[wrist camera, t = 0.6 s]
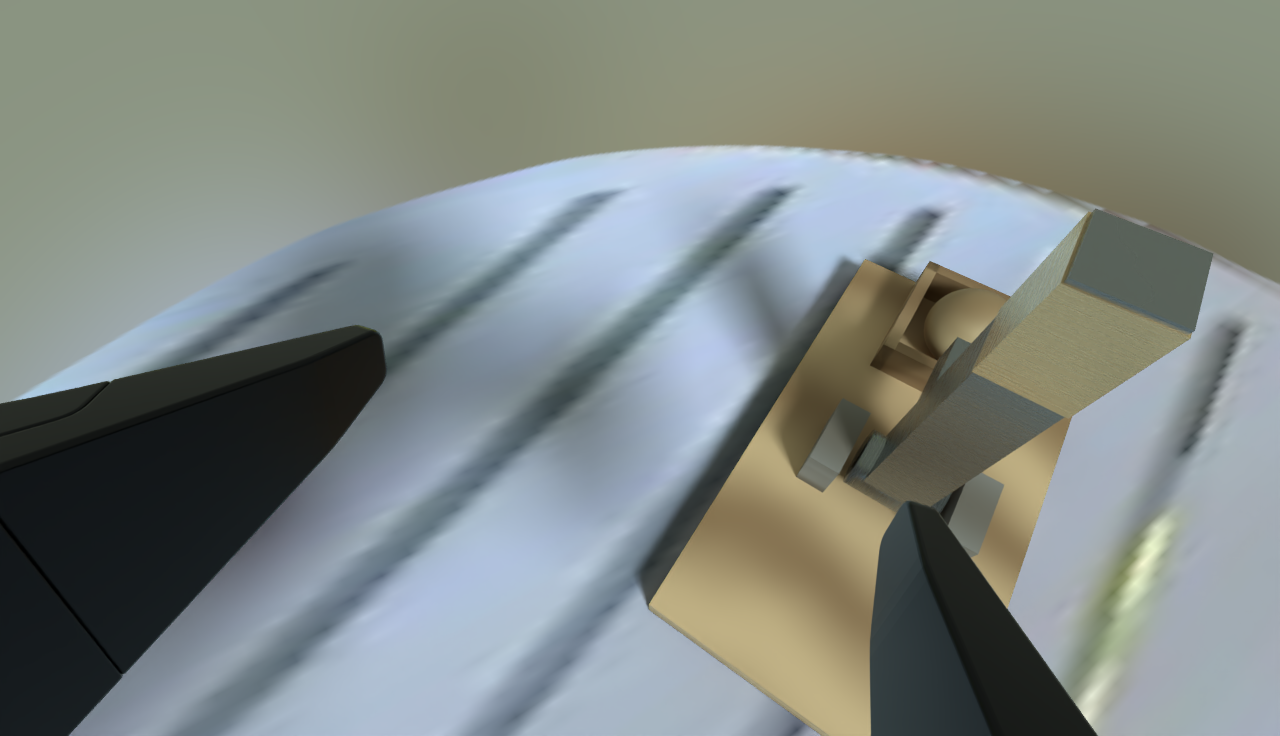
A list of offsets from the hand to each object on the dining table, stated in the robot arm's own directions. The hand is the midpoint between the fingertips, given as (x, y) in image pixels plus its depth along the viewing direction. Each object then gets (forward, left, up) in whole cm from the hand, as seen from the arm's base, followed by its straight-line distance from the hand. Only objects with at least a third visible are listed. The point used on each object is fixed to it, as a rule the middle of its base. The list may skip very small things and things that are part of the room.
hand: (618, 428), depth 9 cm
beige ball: (+10, -15, -14) cm, 23 cm away
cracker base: (+3, -10, -16) cm, 19 cm away
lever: (+5, -11, -14) cm, 18 cm away
